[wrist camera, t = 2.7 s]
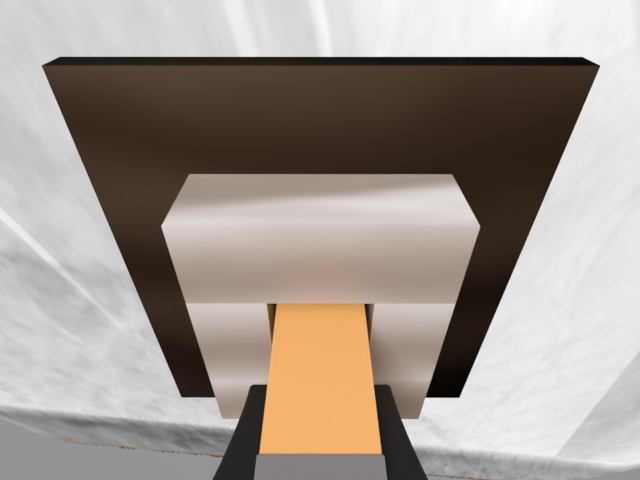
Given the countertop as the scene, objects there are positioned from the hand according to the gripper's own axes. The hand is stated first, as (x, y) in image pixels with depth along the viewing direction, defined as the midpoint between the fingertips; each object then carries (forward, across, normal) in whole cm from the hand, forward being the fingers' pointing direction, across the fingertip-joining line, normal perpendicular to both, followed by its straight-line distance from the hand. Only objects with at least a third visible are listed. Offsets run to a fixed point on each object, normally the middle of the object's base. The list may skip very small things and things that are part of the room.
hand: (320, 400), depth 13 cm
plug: (+4, 0, 0) cm, 4 cm away
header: (+6, 0, 0) cm, 6 cm away
